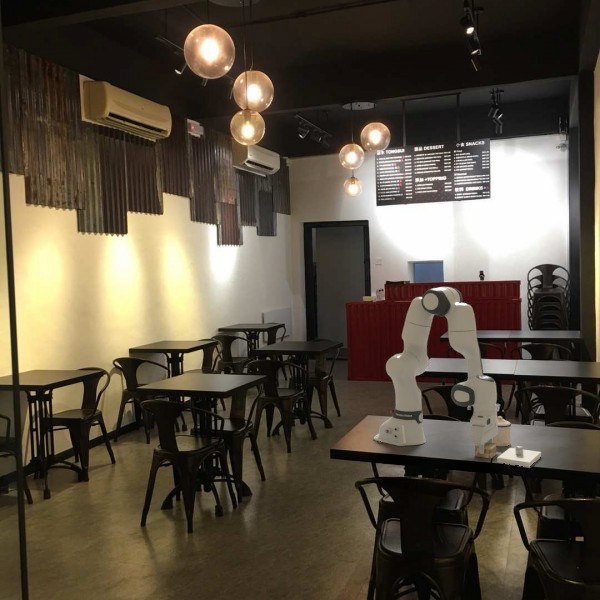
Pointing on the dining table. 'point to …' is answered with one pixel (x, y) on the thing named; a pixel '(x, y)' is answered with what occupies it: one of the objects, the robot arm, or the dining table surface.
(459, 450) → the dining table surface
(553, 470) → the dining table surface
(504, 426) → the teacup with lid
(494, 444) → the beige wooden block
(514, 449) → the post base
